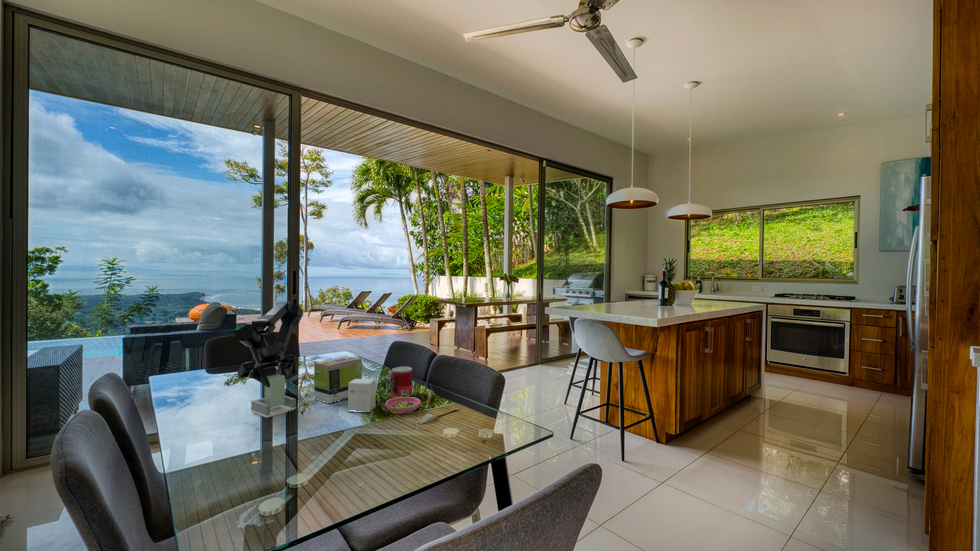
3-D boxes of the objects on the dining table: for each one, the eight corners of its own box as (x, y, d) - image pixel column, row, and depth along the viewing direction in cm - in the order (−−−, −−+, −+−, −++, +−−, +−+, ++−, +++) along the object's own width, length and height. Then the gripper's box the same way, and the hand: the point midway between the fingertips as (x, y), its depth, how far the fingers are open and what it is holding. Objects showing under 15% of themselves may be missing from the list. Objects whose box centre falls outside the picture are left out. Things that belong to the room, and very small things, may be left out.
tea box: (347, 390, 175) (347, 355, 175) (362, 395, 169) (362, 358, 169) (313, 399, 163) (313, 361, 163) (329, 405, 157) (329, 365, 157)
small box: (375, 408, 154) (375, 379, 154) (369, 413, 148) (370, 383, 148) (354, 407, 155) (354, 378, 155) (347, 412, 149) (347, 382, 149)
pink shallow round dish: (401, 418, 144) (401, 409, 144) (377, 411, 151) (377, 402, 151) (427, 409, 154) (427, 400, 154) (404, 402, 161) (404, 394, 161)
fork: (462, 416, 154) (462, 408, 154) (420, 427, 137) (421, 418, 137) (456, 415, 155) (456, 407, 156) (414, 425, 139) (414, 416, 139)
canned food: (415, 394, 171) (415, 367, 171) (405, 400, 163) (405, 371, 163) (398, 392, 173) (399, 365, 173) (388, 398, 166) (388, 370, 166)
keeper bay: (251, 411, 149) (251, 400, 149) (280, 404, 157) (280, 393, 157) (266, 417, 143) (266, 406, 143) (295, 409, 152) (295, 398, 152)
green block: (264, 405, 149) (264, 376, 149) (278, 401, 153) (278, 374, 153) (270, 407, 147) (270, 378, 147) (284, 403, 151) (284, 375, 151)
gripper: (241, 339, 144) (258, 377, 138) (293, 332, 159) (310, 366, 153) (230, 359, 149) (246, 396, 143) (282, 351, 164) (298, 384, 158)
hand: (276, 385), depth 149 cm, fingers closed on green block, 5 cm apart
